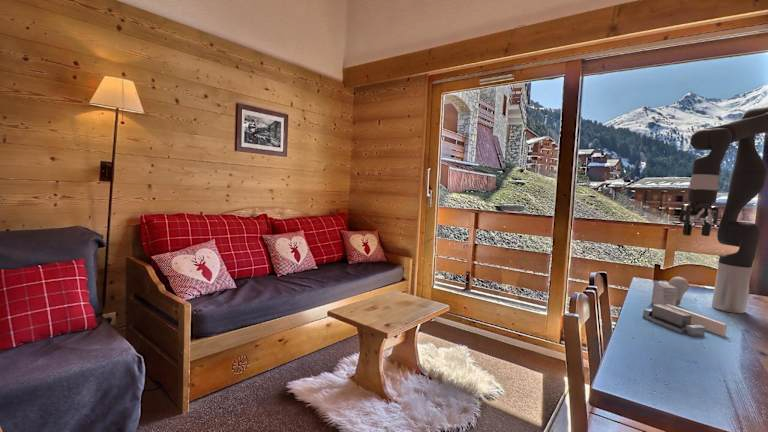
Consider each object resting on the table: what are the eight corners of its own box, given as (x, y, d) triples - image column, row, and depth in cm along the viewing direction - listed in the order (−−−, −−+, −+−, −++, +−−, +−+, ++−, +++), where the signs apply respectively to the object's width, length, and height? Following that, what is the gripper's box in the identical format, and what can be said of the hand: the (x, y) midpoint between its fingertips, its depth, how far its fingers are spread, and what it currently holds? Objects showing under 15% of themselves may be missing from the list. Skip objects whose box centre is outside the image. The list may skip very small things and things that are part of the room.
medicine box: (675, 312, 136) (678, 288, 135) (661, 310, 137) (664, 287, 136) (663, 305, 144) (667, 282, 143) (650, 303, 145) (653, 281, 144)
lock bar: (658, 318, 128) (660, 304, 128) (689, 330, 118) (691, 315, 118) (650, 319, 127) (652, 304, 127) (681, 331, 118) (683, 315, 117)
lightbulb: (681, 304, 147) (686, 276, 146) (688, 309, 141) (693, 280, 140) (663, 301, 149) (667, 274, 147) (669, 306, 143) (673, 277, 142)
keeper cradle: (657, 315, 131) (658, 308, 130) (707, 335, 115) (709, 327, 115) (639, 316, 129) (640, 309, 128) (688, 336, 113) (689, 328, 113)
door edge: (667, 314, 133) (669, 304, 133) (725, 335, 116) (727, 324, 116) (664, 314, 133) (665, 304, 132) (721, 335, 116) (723, 324, 115)
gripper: (706, 189, 135) (699, 234, 137) (676, 186, 131) (669, 233, 133) (730, 190, 128) (723, 238, 129) (699, 187, 124) (691, 237, 126)
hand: (696, 235), depth 131 cm, fingers open, 8 cm apart
